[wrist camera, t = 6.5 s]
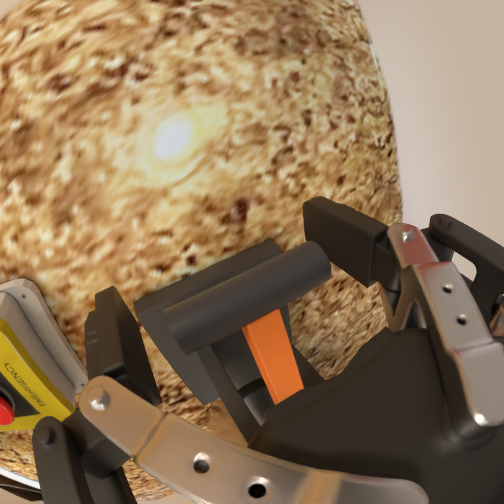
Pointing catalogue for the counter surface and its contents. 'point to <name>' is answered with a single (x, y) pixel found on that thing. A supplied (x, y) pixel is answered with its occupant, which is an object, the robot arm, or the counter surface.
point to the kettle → (256, 401)
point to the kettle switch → (254, 313)
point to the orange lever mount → (222, 351)
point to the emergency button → (34, 360)
